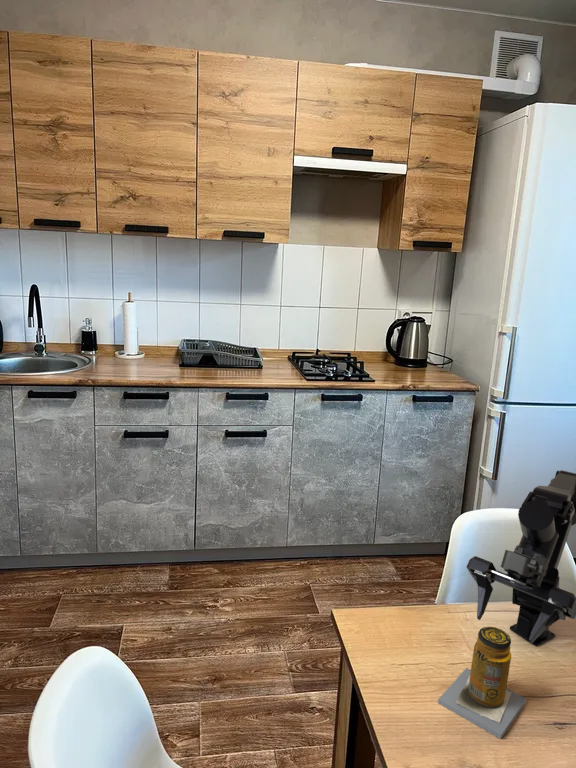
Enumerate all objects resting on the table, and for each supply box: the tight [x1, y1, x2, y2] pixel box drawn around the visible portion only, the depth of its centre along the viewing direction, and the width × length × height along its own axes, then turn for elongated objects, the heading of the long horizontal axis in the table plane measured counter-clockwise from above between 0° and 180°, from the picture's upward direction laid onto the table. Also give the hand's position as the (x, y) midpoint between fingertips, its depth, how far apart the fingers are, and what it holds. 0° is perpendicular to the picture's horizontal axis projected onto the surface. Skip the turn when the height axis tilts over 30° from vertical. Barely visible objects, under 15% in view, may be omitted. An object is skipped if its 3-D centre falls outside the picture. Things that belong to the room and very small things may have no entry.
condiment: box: [456, 626, 512, 723], centre depth 100 cm, size 7×8×12 cm
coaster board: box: [437, 667, 527, 740], centre depth 102 cm, size 11×11×1 cm
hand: (503, 630), depth 103 cm, fingers open, 9 cm apart
